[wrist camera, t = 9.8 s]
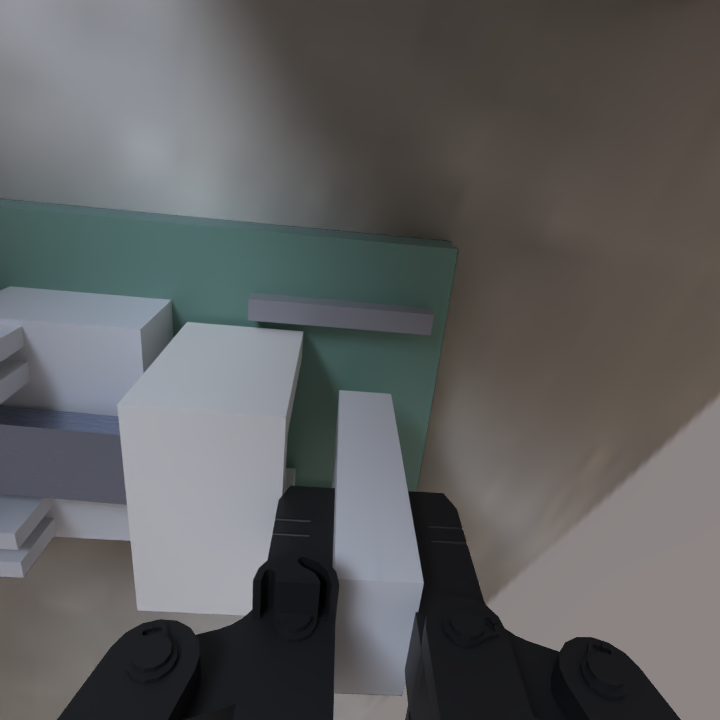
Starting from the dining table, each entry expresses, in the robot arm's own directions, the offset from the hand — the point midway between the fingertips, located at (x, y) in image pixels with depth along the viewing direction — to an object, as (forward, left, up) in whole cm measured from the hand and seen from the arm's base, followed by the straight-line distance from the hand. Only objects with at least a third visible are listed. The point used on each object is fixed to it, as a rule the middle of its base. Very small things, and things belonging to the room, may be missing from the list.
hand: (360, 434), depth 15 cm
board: (-5, 0, -3) cm, 6 cm away
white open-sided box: (-3, 0, -1) cm, 4 cm away
